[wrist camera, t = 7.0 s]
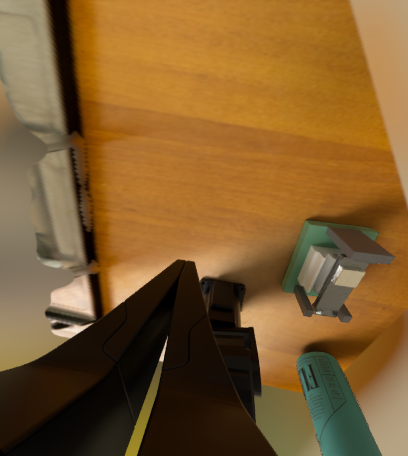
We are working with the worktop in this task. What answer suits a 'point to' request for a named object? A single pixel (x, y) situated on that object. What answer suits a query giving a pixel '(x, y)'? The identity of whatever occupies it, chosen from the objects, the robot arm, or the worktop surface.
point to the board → (328, 258)
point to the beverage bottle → (334, 408)
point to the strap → (338, 286)
